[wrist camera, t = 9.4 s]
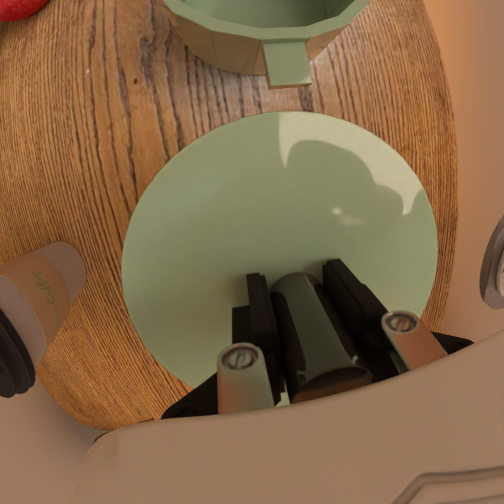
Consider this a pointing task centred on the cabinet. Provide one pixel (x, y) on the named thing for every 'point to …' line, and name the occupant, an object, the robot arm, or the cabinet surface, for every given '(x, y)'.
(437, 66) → the cabinet surface
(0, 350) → the coffee cup
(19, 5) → the apple
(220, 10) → the pot
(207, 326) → the lid
